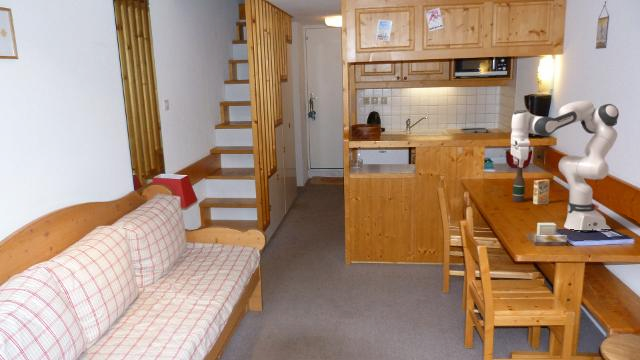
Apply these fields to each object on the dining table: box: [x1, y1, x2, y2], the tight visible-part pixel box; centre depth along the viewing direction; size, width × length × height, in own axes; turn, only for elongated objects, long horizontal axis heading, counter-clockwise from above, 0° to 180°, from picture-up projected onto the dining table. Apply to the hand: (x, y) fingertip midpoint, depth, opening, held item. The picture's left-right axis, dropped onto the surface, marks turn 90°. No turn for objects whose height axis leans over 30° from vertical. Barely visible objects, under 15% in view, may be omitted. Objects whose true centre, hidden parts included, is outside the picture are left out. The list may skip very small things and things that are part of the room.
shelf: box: [525, 232, 568, 247], centre depth 264 cm, size 15×14×5 cm
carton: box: [536, 222, 557, 235], centre depth 263 cm, size 4×8×7 cm, turn 85°
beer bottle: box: [512, 164, 526, 203], centre depth 341 cm, size 8×8×24 cm
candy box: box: [532, 178, 550, 206], centre depth 334 cm, size 9×4×15 cm, turn 107°
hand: (518, 165), depth 284 cm, fingers open, 8 cm apart
